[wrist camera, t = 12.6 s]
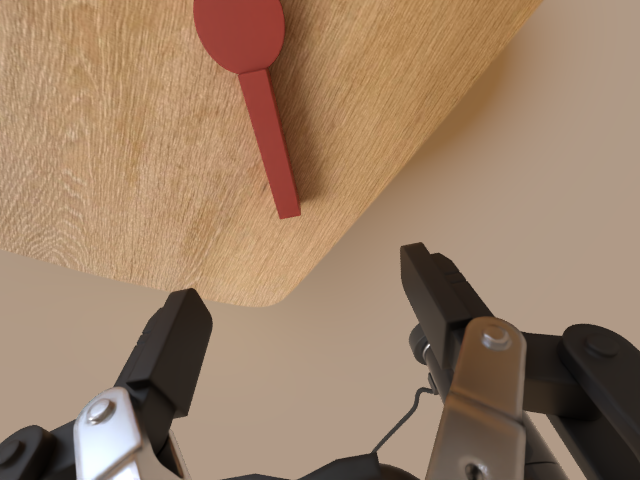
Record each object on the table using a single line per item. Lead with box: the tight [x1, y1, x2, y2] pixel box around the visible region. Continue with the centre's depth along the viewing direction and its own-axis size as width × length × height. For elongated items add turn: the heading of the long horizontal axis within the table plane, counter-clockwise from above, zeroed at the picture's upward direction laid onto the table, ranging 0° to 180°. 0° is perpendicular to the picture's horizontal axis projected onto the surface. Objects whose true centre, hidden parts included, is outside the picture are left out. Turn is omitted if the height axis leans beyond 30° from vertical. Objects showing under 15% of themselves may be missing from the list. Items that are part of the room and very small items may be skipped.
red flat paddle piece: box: [193, 0, 301, 219], centre depth 24 cm, size 19×6×3 cm, turn 10°
